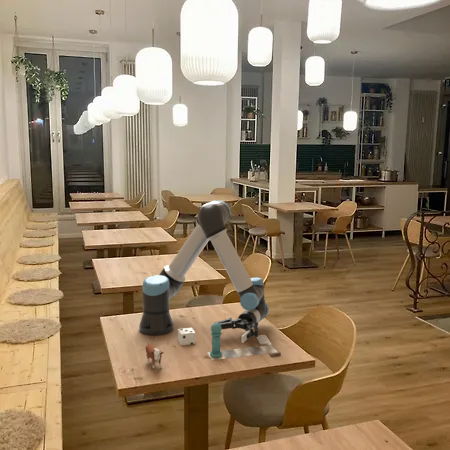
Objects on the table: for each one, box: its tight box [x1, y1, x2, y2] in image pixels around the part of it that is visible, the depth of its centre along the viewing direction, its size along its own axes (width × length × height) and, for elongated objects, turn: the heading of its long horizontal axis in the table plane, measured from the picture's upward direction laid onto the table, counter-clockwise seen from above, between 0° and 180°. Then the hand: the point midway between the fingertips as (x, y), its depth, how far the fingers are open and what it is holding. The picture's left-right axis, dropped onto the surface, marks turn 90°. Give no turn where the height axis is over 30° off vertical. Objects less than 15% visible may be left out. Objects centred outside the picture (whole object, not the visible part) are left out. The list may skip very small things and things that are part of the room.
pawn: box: [209, 322, 223, 358], centre depth 190 cm, size 5×5×13 cm
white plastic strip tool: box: [255, 334, 273, 346], centre depth 207 cm, size 5×15×1 cm, turn 9°
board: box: [206, 344, 282, 361], centre depth 194 cm, size 28×9×1 cm, turn 107°
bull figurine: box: [145, 342, 164, 370], centre depth 183 cm, size 4×13×8 cm, turn 24°
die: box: [177, 327, 196, 346], centre depth 204 cm, size 6×6×6 cm
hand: (226, 336), depth 197 cm, fingers open, 13 cm apart
